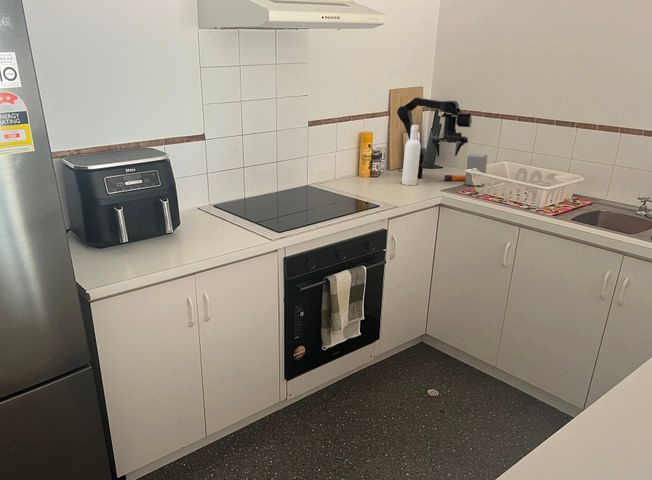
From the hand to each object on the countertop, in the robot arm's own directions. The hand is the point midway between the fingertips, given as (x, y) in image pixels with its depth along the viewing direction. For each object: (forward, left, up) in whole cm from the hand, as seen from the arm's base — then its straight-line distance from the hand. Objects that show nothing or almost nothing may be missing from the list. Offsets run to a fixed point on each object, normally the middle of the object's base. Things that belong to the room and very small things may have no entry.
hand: (446, 156), depth 292 cm
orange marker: (+8, 0, -13) cm, 15 cm away
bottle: (-20, -7, -13) cm, 25 cm away
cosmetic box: (+13, -9, -13) cm, 21 cm away
